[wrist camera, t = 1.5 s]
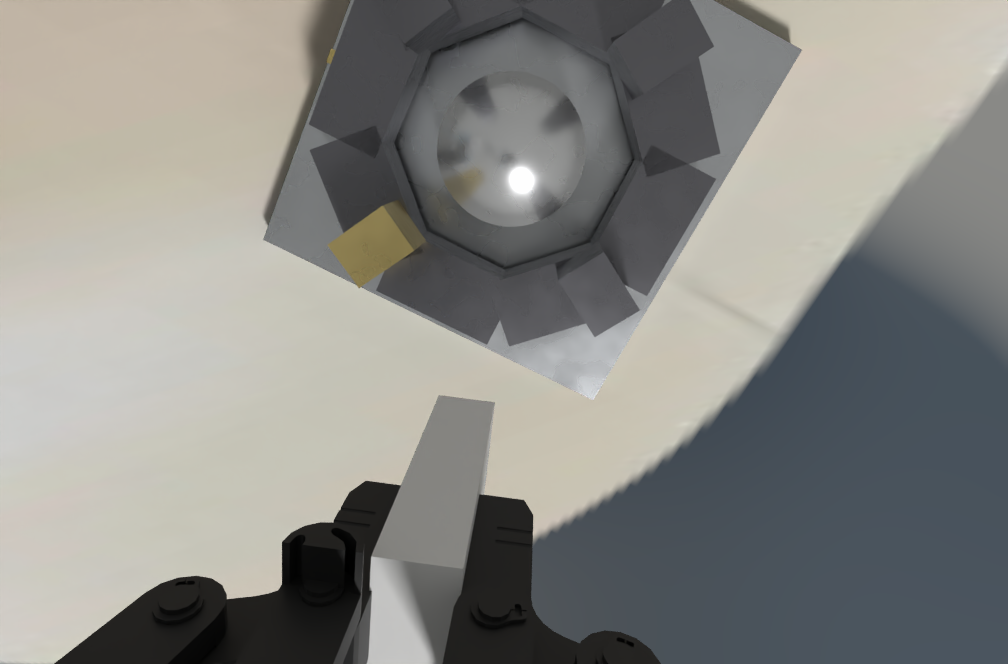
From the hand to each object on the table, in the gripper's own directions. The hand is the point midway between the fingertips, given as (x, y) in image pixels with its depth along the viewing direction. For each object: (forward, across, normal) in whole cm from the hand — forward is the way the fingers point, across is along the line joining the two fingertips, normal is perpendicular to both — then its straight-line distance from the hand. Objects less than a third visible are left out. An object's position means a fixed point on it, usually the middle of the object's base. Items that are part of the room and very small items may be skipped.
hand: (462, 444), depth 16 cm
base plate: (+19, 0, +8) cm, 21 cm away
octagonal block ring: (+18, 0, +7) cm, 19 cm away
